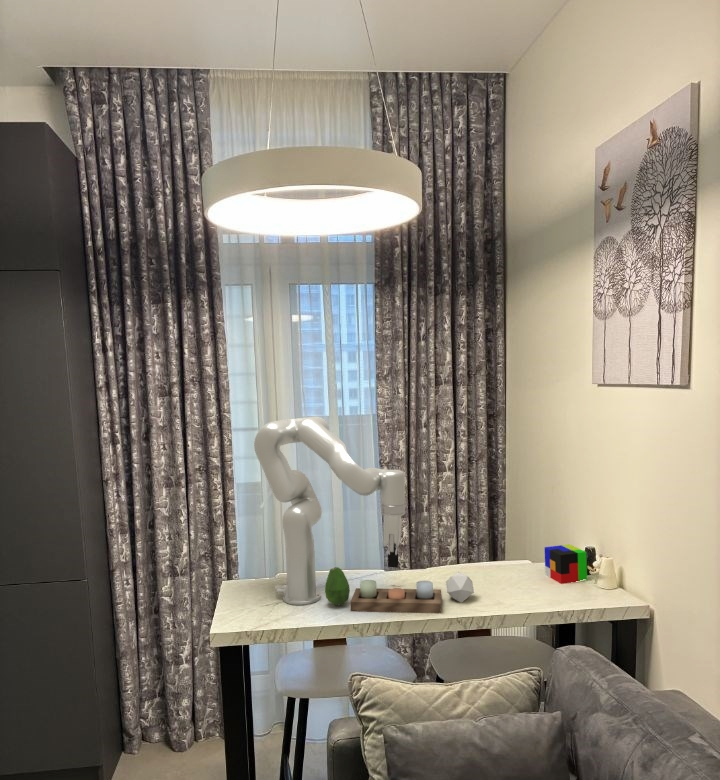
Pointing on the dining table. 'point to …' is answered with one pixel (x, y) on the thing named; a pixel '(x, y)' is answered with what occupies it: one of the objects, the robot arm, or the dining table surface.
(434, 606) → the board
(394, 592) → the button terracotta
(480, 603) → the dining table surface
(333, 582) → the avocado
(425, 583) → the button blue
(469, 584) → the die
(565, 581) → the puzzle toy
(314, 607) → the dining table surface
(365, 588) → the button sage
